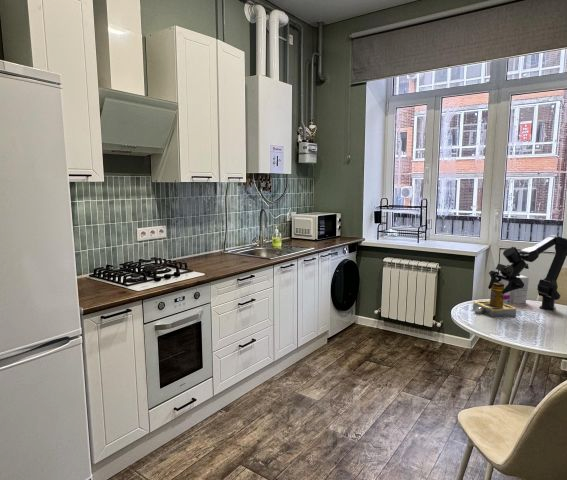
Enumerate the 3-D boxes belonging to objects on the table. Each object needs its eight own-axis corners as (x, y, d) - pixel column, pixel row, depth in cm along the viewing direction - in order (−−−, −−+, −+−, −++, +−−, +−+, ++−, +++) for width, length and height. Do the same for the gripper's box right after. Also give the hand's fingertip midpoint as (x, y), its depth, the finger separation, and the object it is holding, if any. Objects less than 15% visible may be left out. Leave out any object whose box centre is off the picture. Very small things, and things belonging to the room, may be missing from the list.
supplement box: (501, 299, 232) (503, 274, 230) (513, 298, 235) (516, 273, 232) (513, 303, 224) (516, 277, 222) (526, 303, 226) (529, 277, 224)
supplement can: (508, 302, 227) (510, 276, 225) (509, 305, 219) (512, 279, 217) (492, 299, 230) (494, 274, 228) (492, 303, 223) (495, 277, 221)
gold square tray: (494, 307, 216) (495, 300, 215) (515, 315, 202) (516, 308, 202) (466, 309, 211) (467, 301, 210) (486, 317, 198) (486, 310, 197)
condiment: (506, 308, 204) (508, 285, 202) (490, 308, 203) (492, 285, 201) (498, 304, 211) (500, 281, 209) (482, 303, 210) (484, 281, 209)
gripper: (493, 255, 213) (474, 276, 212) (522, 262, 196) (501, 285, 194) (504, 269, 216) (485, 290, 215) (533, 277, 199) (512, 299, 197)
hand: (495, 290), depth 205 cm, fingers open, 9 cm apart
